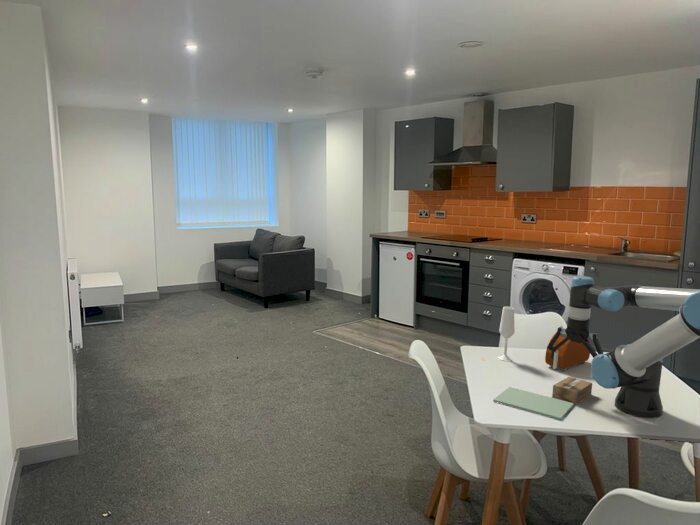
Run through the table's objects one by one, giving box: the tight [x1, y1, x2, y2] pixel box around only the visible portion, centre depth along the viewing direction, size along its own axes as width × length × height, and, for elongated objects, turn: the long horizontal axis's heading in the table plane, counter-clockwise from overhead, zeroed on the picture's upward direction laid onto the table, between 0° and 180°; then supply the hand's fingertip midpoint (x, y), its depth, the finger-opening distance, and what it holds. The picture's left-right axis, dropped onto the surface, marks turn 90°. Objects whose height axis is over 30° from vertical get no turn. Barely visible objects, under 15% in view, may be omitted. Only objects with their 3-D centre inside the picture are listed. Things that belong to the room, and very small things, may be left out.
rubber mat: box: [493, 386, 575, 421], centre depth 194 cm, size 24×16×1 cm, turn 53°
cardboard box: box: [551, 376, 593, 405], centre depth 201 cm, size 9×14×5 cm, turn 135°
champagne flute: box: [497, 306, 516, 362], centre depth 241 cm, size 7×7×24 cm
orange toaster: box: [544, 327, 591, 372], centre depth 236 cm, size 23×9×17 cm, turn 129°
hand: (573, 372), depth 201 cm, fingers open, 13 cm apart
